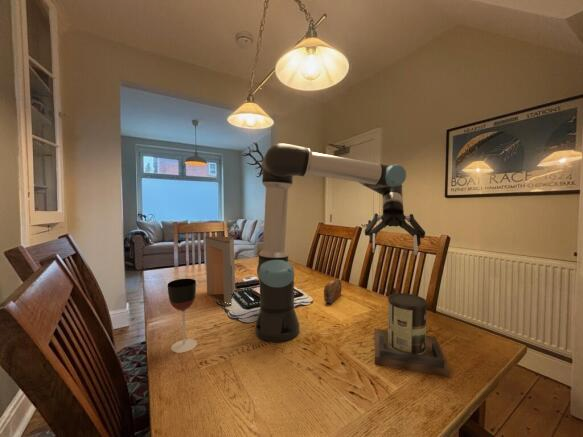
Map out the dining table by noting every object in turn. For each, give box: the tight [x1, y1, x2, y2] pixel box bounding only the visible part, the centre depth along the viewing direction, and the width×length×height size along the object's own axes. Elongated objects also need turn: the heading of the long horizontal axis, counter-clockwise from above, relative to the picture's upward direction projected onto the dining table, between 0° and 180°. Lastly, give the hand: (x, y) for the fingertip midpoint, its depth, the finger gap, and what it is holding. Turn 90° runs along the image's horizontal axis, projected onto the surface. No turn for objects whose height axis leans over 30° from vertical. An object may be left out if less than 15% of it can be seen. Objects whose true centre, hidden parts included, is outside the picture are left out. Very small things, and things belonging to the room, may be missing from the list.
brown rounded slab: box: [323, 279, 342, 305], centre depth 115 cm, size 15×3×8 cm, turn 148°
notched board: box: [374, 328, 451, 378], centre depth 75 cm, size 18×16×4 cm
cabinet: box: [204, 236, 236, 308], centre depth 119 cm, size 21×10×28 cm, turn 42°
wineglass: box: [167, 278, 198, 354], centre depth 79 cm, size 8×9×20 cm
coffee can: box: [387, 292, 428, 355], centre depth 75 cm, size 10×10×14 cm
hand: (394, 251), depth 88 cm, fingers open, 13 cm apart
